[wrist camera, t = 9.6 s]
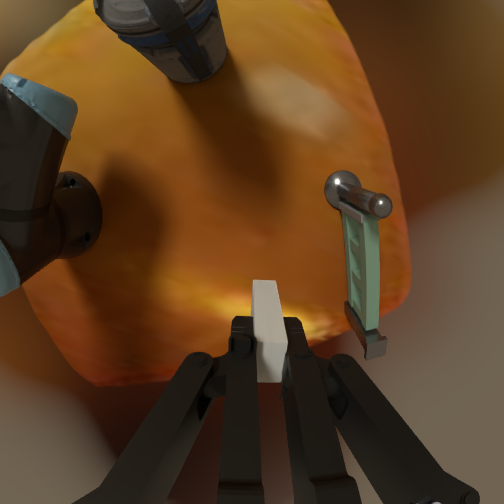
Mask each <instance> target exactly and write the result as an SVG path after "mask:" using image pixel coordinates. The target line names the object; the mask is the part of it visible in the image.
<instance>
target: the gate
mask: <svg viewBox="0 0 504 504" xmlns="http://www.w3.org/2000/svg"><path fill="white" fill-rule="evenodd" d="M338 203H339V209H340V210H341V212H342V221H343V231H344V242H345V254H346V268H347V286H348V302H349V303H350V305H351V307H353V308H354V310H355V311H356V313H357V314H358V316H359V318H360V319H361V321H362V325H363V327H364V328H365V330H366V331H368V330H371V329H375V328H378V319H379V291H380V260H379V232H378V220H380V219H379V218H376V217H374V216H373V215H372V214H371V213H370V212H368V211H366V210H365V209H363V208H361V207H359V206H357V205H355V204H353V203H351V202H349V201H343V202H338Z"/></svg>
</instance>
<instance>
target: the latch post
mask: <svg viewBox="0 0 504 504" xmlns="http://www.w3.org/2000/svg"><path fill="white" fill-rule="evenodd" d="M344 305H345V314H346V316H347V318H348V320H349V322H350V324H351V325H352V327H353V329H354V331H355V333H356V335H357V337H358V338H359V340H360V342H361V344H362V346H363V348H364V350H365V354H364V358H365V360H370V359H373V358H376V357H380V356H383V355H385V353H386V345H387V338H386V336H382V337H381V335H380V334H379V332H378V330H377V329H376V328H375V329H371V330H368V331H366V330H365V328H364V327H363V325H362V321H361V319H360V318H359V316H358V314H357V313H356V311H355V310H354V308H353V307H351V305H350V303H349V302H348V301H346V302H344Z"/></svg>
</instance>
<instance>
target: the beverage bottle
mask: <svg viewBox="0 0 504 504" xmlns="http://www.w3.org/2000/svg"><path fill="white" fill-rule="evenodd" d="M93 4H94V9H95V13H96V14H97V15H98V16H99V17H100V19H101V20H102V21H103V22H104V23H105V24H106V25H107V27H109V28H110V29H111V30H112V31H114V32H115V33H116V34H118V38H119V39H121V40H122V41H123V42H125V43H127V44H129V45H131V46H132V47H133V48H135V49H136V50H137V51H138V52H139V53H141V54H142V55H143V56H144V57H145V58H146V59H148V60H149V61H150V62H151V63H152V64H153V65H155V66H156V67H157V68H158V69H159V70H160V71H161V72H163V73H164V74H165V75H166V76H167V77H168V78H169V79H171V80H173V81H176V82H179V83H186V84H188V83H196V82H201V81H203V80H205V79H207V78H209V77H211V76H212V75H214V74H215V73H216V72H217V71H218V70H219V69H220V68H221V67H222V65H223V63H224V61H225V59H226V56H227V46H226V41H225V37H224V33H223V28H222V24H221V19H220V15H219V10H218V5H217V1H216V0H93Z"/></svg>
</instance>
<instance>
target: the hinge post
mask: <svg viewBox="0 0 504 504" xmlns="http://www.w3.org/2000/svg"><path fill="white" fill-rule="evenodd" d="M324 191H325V196H326V199H327V200H328V202H329V203H330V204H331V205H332V206H334V207H335V208H338V209H339V203H338V202H343V201H349V202H351V203H353V204H355V205H357V206H359V207H361V208H363V209H365V210H366V211H368V212H370V213H371V214H372V215H373V216H374V217H376V218H379V219H383V218H386V217H388V216H389V215H390V214H391V212H392V208H393V205H392V201H391V199H390V198H389V197H388V196H387V195H385V194H382V193H375V192H372V191H369V190H366V189H363V188H361V184H360V181H359V179H358V178H357V177H356V176H355V175H354V174H353V173H351V172H349V171H343V170H342V171H337V172H335V173H333V174H331V175H330V176H329V178H328V179H327V181H326V183H325V189H324Z"/></svg>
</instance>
